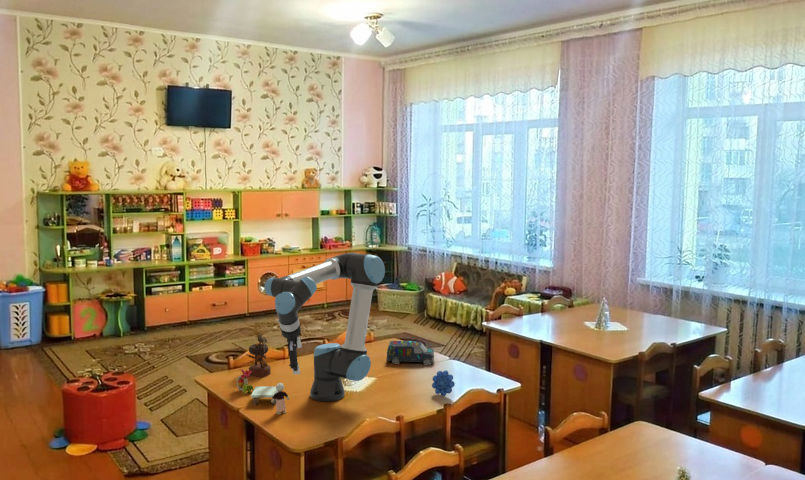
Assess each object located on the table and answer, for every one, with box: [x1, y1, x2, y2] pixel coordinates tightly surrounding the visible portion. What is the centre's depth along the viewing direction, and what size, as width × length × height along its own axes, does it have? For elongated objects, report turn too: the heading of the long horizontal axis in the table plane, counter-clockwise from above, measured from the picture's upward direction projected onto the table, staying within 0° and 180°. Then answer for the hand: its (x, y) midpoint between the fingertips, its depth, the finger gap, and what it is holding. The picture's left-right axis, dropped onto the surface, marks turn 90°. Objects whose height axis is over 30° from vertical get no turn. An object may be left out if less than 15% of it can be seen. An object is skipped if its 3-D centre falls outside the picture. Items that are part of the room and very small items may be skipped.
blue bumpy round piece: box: [431, 370, 456, 397], centre depth 294 cm, size 12×7×12 cm, turn 54°
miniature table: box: [250, 385, 278, 406], centre depth 286 cm, size 11×11×4 cm
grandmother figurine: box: [270, 382, 290, 416], centre depth 272 cm, size 8×4×13 cm, turn 132°
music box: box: [246, 333, 271, 378], centre depth 321 cm, size 15×11×20 cm
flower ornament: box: [236, 368, 255, 395], centre depth 296 cm, size 6×11×9 cm
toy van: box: [385, 340, 435, 366], centre depth 344 cm, size 11×25×10 cm, turn 85°
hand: (297, 360), depth 270 cm, fingers open, 13 cm apart
